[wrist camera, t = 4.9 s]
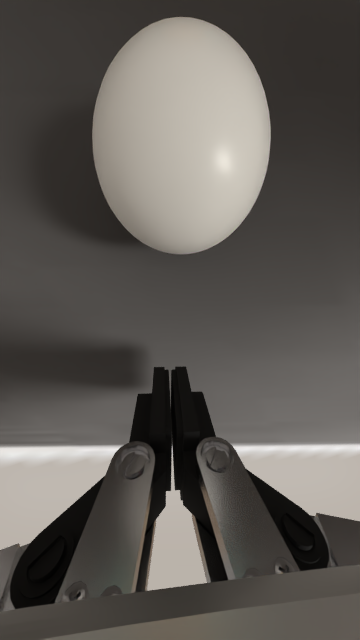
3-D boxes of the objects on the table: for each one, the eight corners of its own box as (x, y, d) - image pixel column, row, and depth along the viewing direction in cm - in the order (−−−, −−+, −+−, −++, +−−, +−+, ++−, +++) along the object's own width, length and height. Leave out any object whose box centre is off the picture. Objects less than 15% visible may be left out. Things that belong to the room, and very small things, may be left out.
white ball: (249, 221, 10) (347, 179, 4) (155, 274, 10) (147, 292, 5) (202, 91, 8) (273, -217, 3) (92, 163, 8) (-23, 12, 3)
